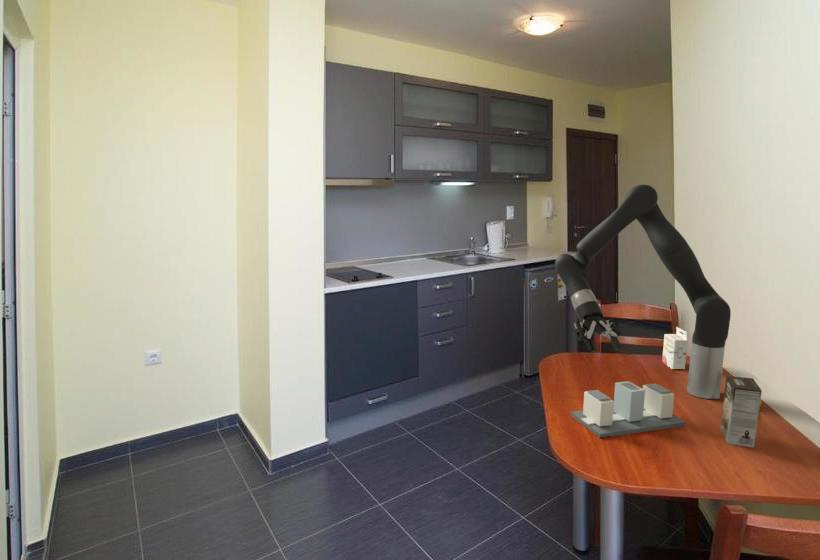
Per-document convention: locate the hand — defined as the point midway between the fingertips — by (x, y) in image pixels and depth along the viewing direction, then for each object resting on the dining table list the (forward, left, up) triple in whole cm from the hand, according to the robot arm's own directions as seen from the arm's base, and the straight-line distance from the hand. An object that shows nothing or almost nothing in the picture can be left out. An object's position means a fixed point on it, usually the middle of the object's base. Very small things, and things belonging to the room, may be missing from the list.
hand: (605, 350), depth 149 cm
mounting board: (-8, +8, -18) cm, 21 cm away
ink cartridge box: (-17, -51, -18) cm, 57 cm away
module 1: (-1, +15, -16) cm, 22 cm away
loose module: (-8, +8, -16) cm, 20 cm away
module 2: (-15, +1, -16) cm, 22 cm away
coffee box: (-35, +4, -18) cm, 40 cm away
